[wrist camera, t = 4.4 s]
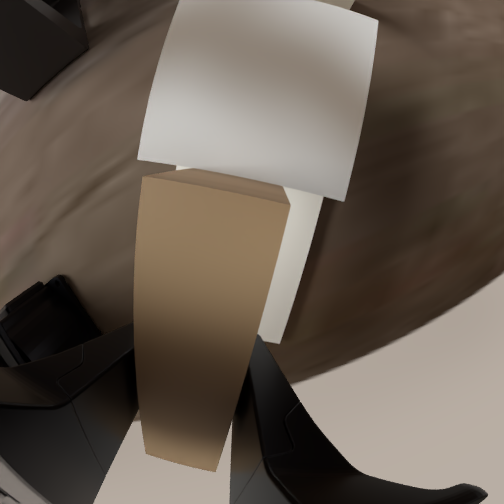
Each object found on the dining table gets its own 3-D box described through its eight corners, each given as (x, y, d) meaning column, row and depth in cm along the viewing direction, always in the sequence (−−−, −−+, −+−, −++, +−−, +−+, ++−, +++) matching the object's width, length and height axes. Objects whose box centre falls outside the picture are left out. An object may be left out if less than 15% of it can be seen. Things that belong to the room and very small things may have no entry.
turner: (268, 403, 11) (264, 479, 7) (137, 370, 11) (101, 436, 7) (370, 30, 6) (421, -29, 2) (191, -2, 6) (149, -68, 2)
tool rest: (279, 338, 16) (279, 343, 16) (163, 310, 16) (159, 315, 16) (347, 77, 11) (350, 74, 11) (206, 49, 11) (204, 46, 11)
